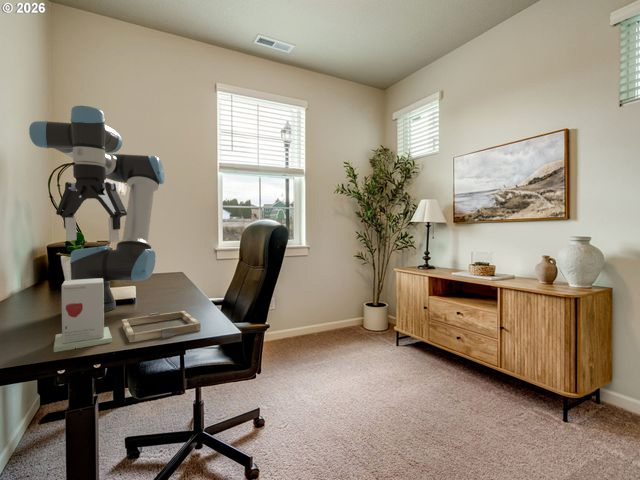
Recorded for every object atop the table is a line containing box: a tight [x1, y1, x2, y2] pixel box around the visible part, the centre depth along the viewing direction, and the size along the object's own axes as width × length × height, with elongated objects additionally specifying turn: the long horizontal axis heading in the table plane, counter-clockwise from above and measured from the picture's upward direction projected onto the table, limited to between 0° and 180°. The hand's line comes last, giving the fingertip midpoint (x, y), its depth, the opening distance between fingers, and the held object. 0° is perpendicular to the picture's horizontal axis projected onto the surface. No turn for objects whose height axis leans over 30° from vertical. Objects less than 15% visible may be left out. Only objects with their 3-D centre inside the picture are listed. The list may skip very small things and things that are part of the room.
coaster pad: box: [53, 326, 113, 353], centre depth 89 cm, size 12×12×1 cm
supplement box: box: [61, 278, 105, 343], centre depth 88 cm, size 9×9×15 cm
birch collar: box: [121, 310, 201, 343], centre depth 100 cm, size 20×18×2 cm
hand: (92, 241), depth 93 cm, fingers open, 13 cm apart
